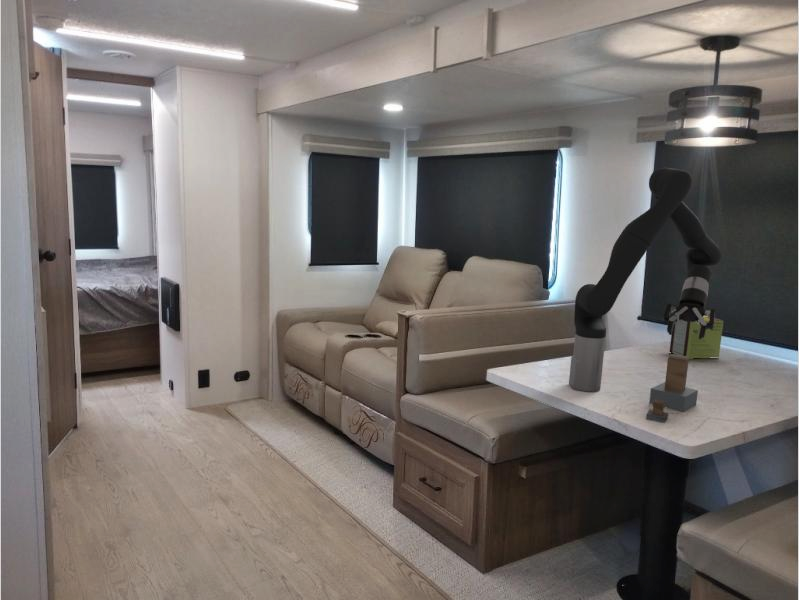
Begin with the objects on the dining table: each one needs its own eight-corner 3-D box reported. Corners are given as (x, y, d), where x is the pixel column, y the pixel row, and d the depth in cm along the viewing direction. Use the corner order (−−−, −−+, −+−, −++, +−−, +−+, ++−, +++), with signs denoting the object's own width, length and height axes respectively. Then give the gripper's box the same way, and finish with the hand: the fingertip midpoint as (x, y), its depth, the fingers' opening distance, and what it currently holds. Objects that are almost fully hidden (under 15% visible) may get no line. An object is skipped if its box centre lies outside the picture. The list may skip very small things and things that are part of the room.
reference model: (649, 413, 176) (651, 397, 175) (668, 417, 173) (670, 400, 173) (646, 418, 172) (647, 401, 171) (665, 422, 169) (667, 405, 168)
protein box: (719, 358, 244) (724, 320, 242) (685, 359, 241) (690, 320, 238) (700, 352, 254) (705, 315, 252) (668, 352, 251) (672, 315, 248)
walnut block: (667, 385, 188) (671, 353, 187) (685, 388, 186) (689, 356, 184) (664, 389, 184) (668, 357, 182) (682, 393, 181) (686, 360, 180)
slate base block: (662, 397, 193) (664, 382, 192) (695, 406, 186) (697, 390, 185) (649, 404, 186) (650, 388, 185) (683, 413, 179) (685, 396, 178)
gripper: (669, 284, 198) (659, 325, 190) (719, 289, 191) (710, 332, 183) (670, 298, 203) (660, 338, 196) (718, 304, 196) (710, 346, 188)
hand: (685, 335), depth 189 cm, fingers open, 8 cm apart
